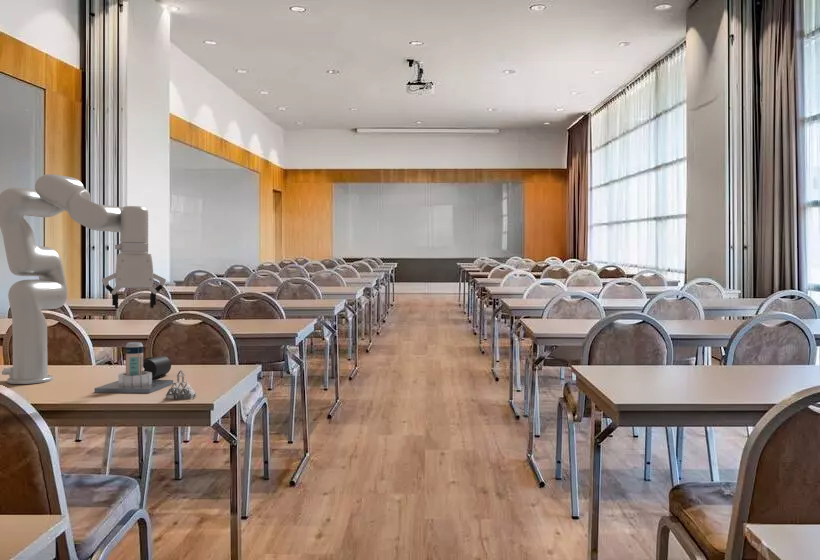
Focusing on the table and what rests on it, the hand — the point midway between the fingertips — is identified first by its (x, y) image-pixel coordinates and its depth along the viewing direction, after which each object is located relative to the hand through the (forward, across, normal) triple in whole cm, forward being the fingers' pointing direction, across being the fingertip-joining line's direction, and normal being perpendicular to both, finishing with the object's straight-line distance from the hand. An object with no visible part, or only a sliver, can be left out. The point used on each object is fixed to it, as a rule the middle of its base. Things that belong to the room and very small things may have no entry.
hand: (134, 307), depth 204 cm
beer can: (+22, 0, 0) cm, 22 cm away
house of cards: (+24, +8, -23) cm, 34 cm away
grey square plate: (+23, 0, 0) cm, 23 cm away
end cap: (+24, +7, +17) cm, 30 cm away
